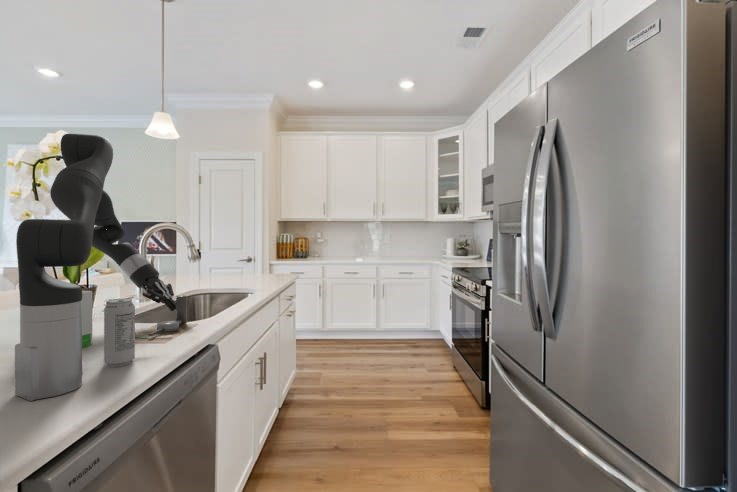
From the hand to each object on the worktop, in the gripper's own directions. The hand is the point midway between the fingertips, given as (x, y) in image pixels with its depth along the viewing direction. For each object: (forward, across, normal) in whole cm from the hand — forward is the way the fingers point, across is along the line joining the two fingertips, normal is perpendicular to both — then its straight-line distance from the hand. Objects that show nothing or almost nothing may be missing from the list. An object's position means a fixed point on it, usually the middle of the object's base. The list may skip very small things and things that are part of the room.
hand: (175, 309), depth 122 cm
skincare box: (-4, -27, +13) cm, 31 cm away
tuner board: (+6, -11, +3) cm, 12 cm away
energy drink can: (+8, -34, 0) cm, 35 cm away
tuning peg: (+5, -8, +2) cm, 10 cm away
